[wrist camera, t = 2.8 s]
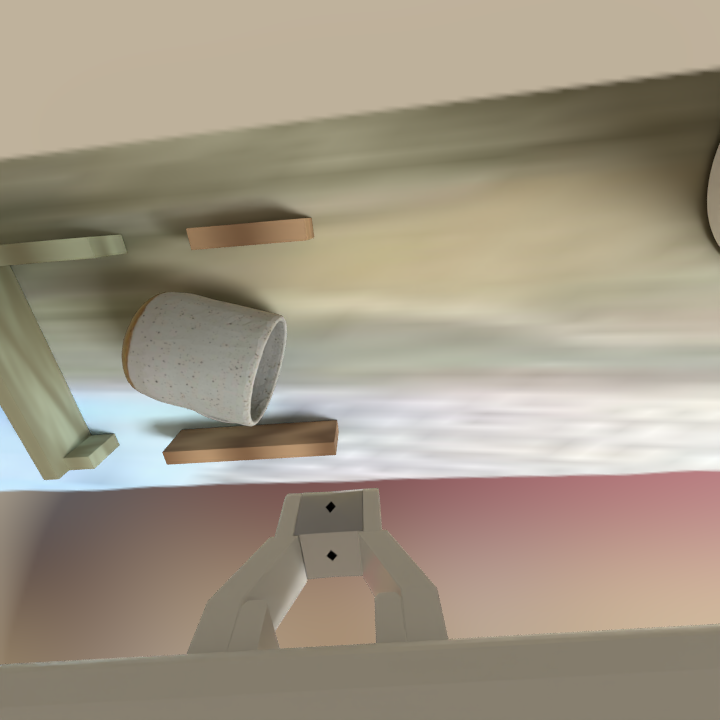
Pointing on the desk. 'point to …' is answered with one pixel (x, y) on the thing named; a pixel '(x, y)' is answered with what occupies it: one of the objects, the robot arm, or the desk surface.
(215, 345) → the ceramic mug
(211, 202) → the desk surface
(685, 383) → the desk surface
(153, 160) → the desk surface
